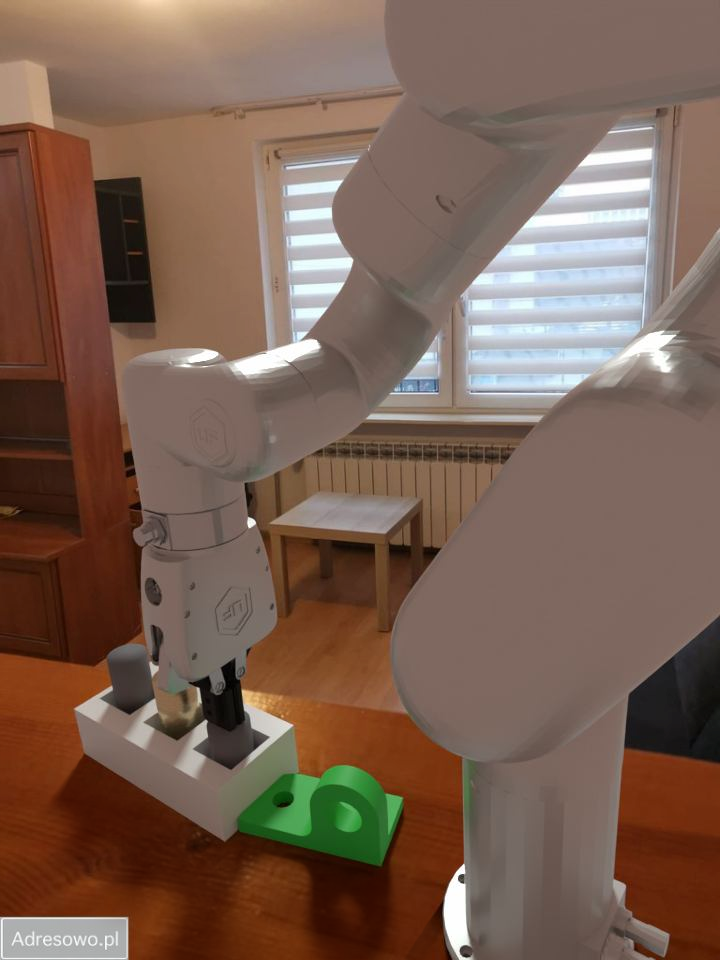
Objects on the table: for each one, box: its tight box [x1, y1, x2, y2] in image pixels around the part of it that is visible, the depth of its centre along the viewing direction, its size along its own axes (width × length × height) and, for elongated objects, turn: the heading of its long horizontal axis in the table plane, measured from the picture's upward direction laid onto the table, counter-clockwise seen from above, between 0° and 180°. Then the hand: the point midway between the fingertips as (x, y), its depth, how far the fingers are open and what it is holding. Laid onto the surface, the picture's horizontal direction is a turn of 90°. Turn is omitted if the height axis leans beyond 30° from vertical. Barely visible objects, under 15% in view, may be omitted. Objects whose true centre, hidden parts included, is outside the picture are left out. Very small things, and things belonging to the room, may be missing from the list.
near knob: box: [206, 711, 254, 770], centre depth 60 cm, size 4×4×6 cm
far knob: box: [106, 643, 155, 715], centre depth 67 cm, size 4×4×6 cm
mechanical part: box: [238, 764, 404, 867], centre depth 57 cm, size 12×6×8 cm, turn 71°
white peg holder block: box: [73, 661, 300, 842], centre depth 65 cm, size 19×9×6 cm, turn 54°
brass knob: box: [152, 671, 202, 741], centre depth 63 cm, size 4×4×6 cm
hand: (225, 720), depth 59 cm, fingers closed
